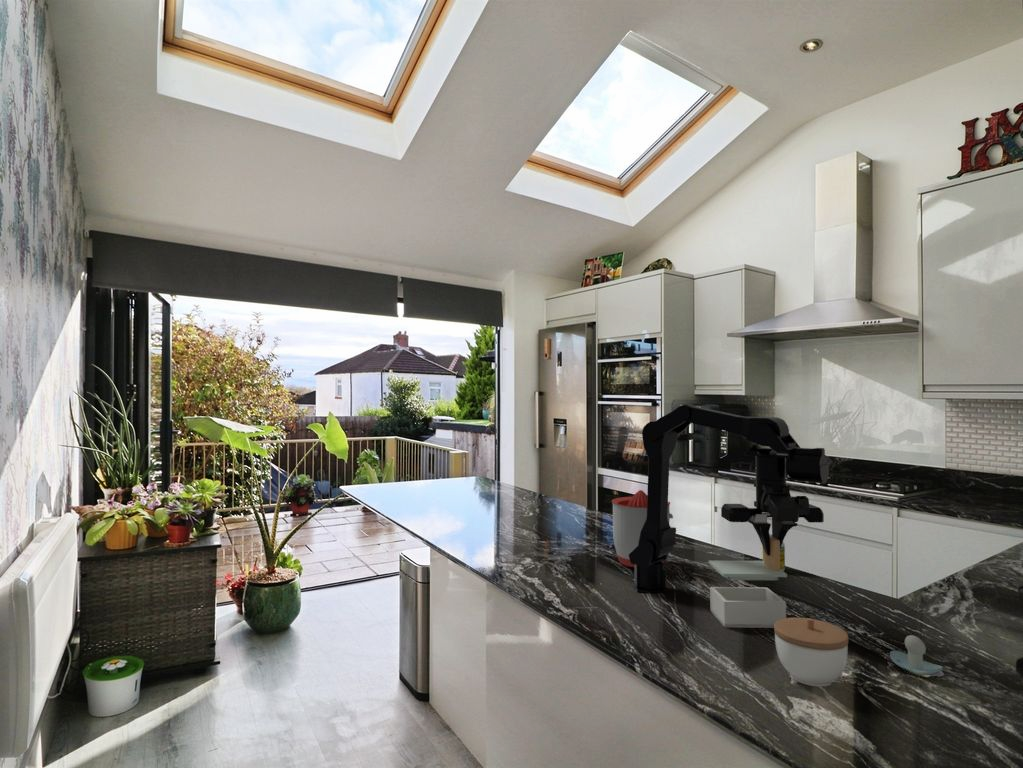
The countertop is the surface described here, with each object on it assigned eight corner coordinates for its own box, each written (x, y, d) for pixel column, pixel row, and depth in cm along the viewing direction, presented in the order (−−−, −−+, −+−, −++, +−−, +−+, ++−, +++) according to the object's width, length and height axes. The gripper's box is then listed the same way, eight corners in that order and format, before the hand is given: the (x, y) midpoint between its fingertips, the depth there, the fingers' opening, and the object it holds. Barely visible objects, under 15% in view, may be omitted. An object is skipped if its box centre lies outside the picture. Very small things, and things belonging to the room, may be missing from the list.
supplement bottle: (770, 565, 158) (770, 529, 158) (789, 570, 154) (788, 533, 154) (758, 568, 155) (758, 532, 155) (777, 573, 151) (776, 536, 151)
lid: (723, 581, 116) (723, 543, 116) (708, 568, 125) (708, 532, 125) (787, 582, 115) (786, 543, 116) (767, 568, 125) (767, 532, 125)
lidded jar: (768, 682, 93) (768, 622, 94) (780, 657, 102) (780, 603, 103) (846, 701, 88) (845, 638, 88) (851, 673, 96) (850, 615, 97)
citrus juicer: (688, 567, 156) (687, 492, 157) (632, 575, 150) (632, 496, 150) (653, 553, 171) (653, 484, 171) (601, 559, 164) (601, 487, 165)
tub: (724, 627, 116) (724, 601, 116) (710, 610, 125) (710, 587, 125) (786, 627, 115) (785, 602, 115) (767, 611, 124) (767, 587, 124)
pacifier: (903, 660, 102) (885, 667, 98) (903, 623, 102) (885, 630, 99) (952, 677, 96) (935, 686, 92) (952, 638, 96) (935, 645, 93)
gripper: (739, 484, 113) (740, 566, 112) (837, 484, 112) (838, 566, 112) (720, 476, 124) (720, 551, 123) (809, 476, 123) (810, 551, 123)
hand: (771, 555), depth 120 cm, fingers closed on lid
